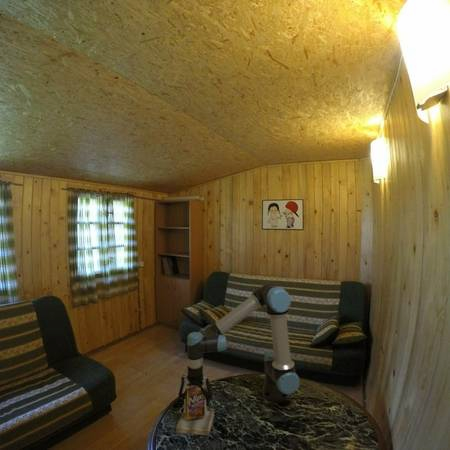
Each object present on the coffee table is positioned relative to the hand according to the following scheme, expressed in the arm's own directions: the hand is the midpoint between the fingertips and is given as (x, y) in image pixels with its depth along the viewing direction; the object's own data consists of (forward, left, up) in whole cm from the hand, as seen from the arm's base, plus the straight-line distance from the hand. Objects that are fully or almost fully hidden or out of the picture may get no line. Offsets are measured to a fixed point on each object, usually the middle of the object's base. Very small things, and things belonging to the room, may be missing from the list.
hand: (195, 411), depth 134 cm
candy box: (0, 0, -2) cm, 2 cm away
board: (0, 0, -6) cm, 6 cm away
